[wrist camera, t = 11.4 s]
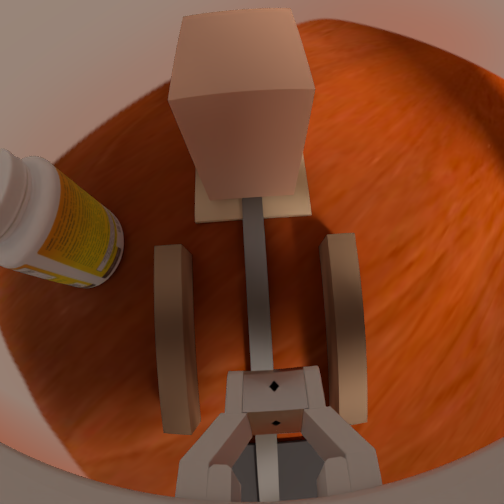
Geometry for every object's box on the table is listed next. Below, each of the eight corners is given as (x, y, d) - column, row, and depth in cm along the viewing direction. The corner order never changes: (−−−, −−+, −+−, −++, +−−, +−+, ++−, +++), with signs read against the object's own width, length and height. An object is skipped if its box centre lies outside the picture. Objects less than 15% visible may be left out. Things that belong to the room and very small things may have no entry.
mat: (310, 215, 18) (311, 213, 18) (196, 223, 18) (194, 221, 18) (297, 123, 20) (297, 121, 19) (197, 130, 20) (197, 128, 20)
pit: (323, 518, 13) (324, 521, 13) (218, 524, 13) (217, 526, 13) (325, 436, 15) (326, 438, 15) (207, 443, 15) (206, 445, 15)
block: (293, 195, 18) (315, 89, 9) (209, 200, 18) (167, 100, 9) (283, 117, 19) (290, 8, 10) (210, 122, 19) (183, 16, 10)
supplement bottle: (114, 196, 19) (26, 109, 9) (138, 267, 18) (28, 209, 8) (55, 232, 19) (-45, 176, 9) (72, 303, 17) (-47, 277, 7)
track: (349, 509, 13) (358, 528, 11) (191, 517, 14) (183, 536, 11) (318, 112, 20) (323, 90, 17) (175, 123, 20) (166, 101, 18)
